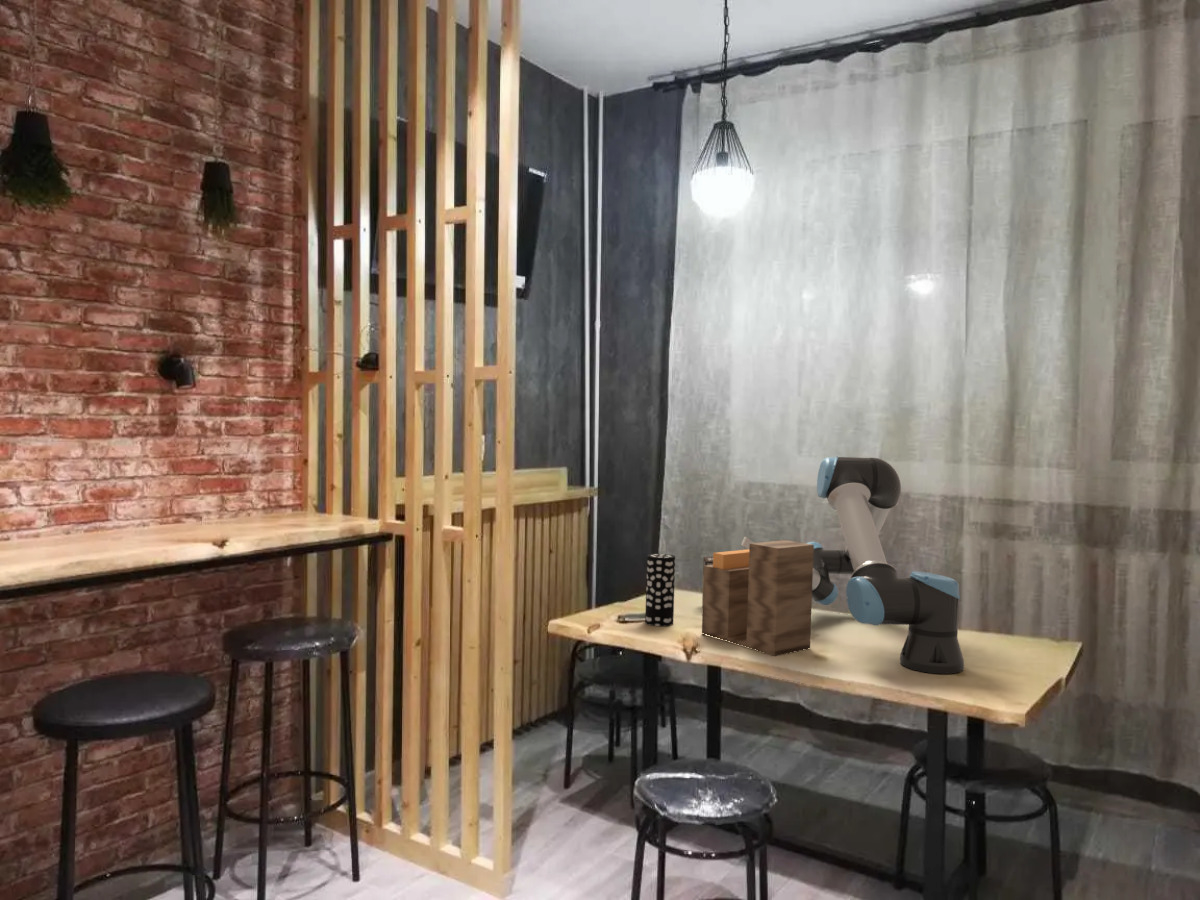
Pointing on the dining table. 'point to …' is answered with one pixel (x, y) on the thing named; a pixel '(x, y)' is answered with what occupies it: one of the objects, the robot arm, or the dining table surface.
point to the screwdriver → (731, 559)
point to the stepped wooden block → (762, 598)
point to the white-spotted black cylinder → (660, 589)
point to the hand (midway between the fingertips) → (760, 543)
